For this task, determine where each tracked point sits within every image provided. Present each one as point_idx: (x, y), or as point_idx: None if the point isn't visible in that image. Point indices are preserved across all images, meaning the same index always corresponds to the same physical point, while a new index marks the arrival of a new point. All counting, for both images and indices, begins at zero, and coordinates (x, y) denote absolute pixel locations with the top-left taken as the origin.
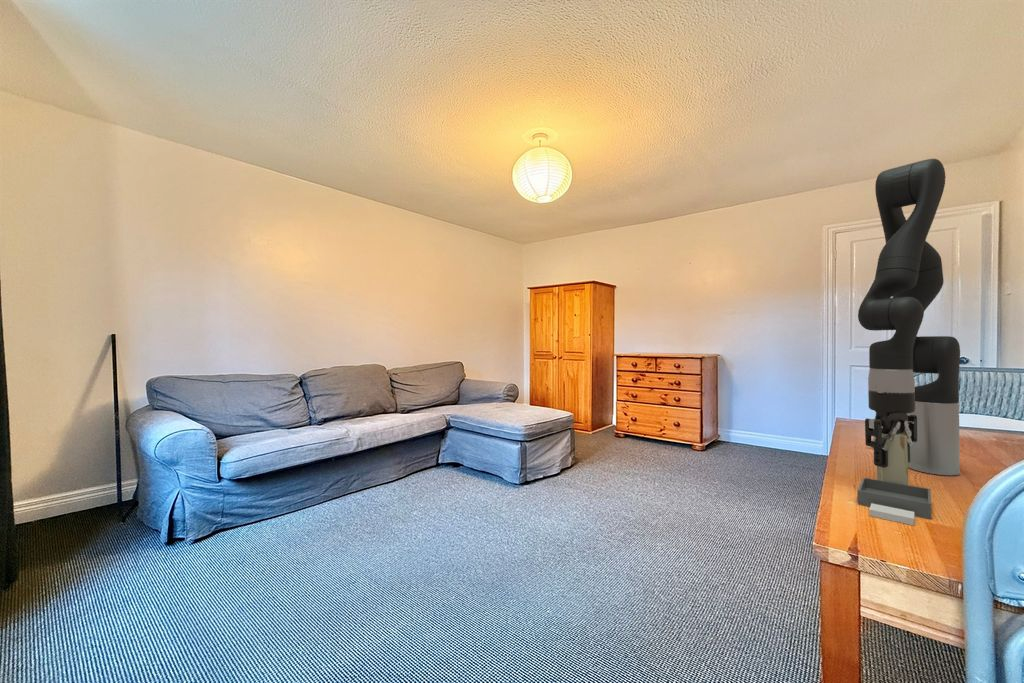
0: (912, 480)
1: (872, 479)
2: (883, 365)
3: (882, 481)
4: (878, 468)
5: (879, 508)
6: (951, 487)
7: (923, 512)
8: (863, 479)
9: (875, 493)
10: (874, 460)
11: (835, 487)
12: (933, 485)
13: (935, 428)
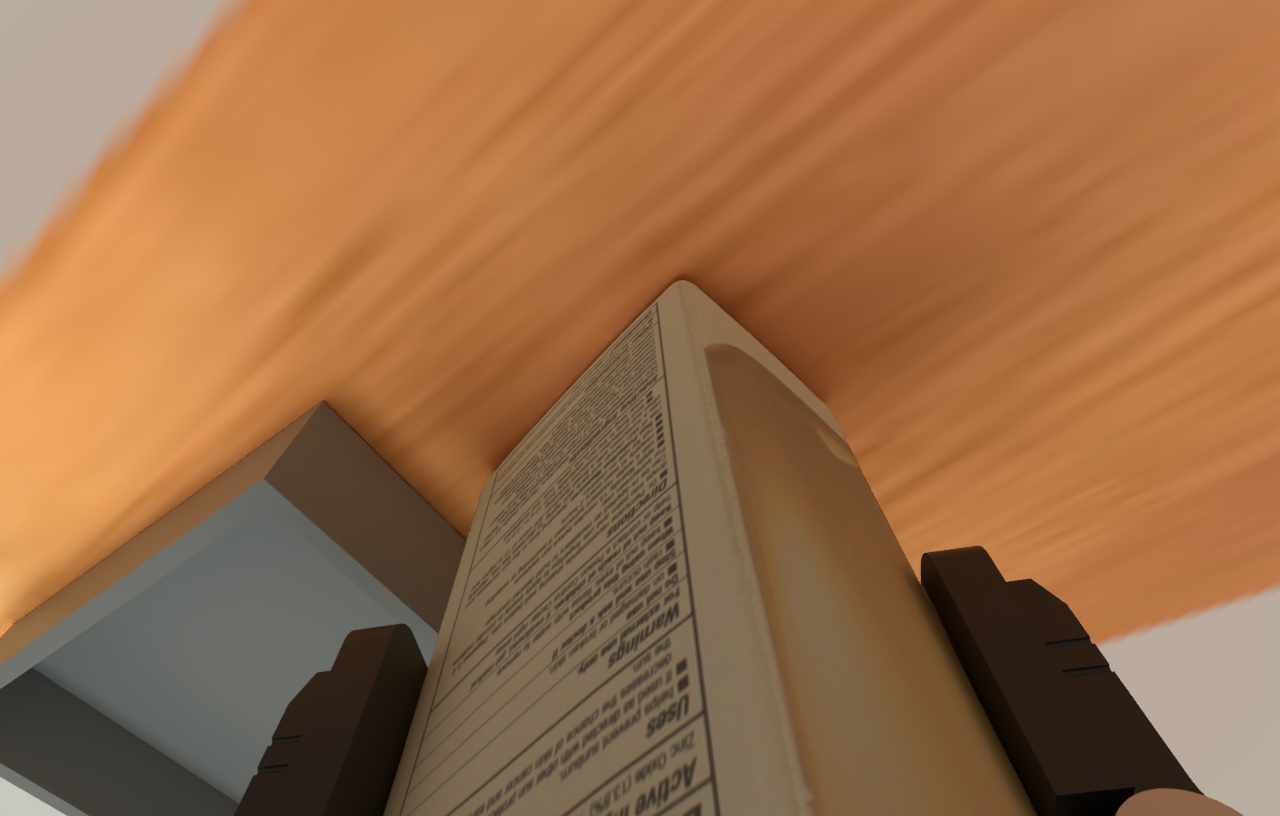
0: (1211, 267)
1: (318, 551)
2: None
3: (385, 603)
4: (583, 464)
5: (12, 809)
6: (1264, 504)
7: None
8: (209, 533)
9: (35, 792)
10: (289, 717)
11: (74, 266)
12: (1189, 433)
13: None
